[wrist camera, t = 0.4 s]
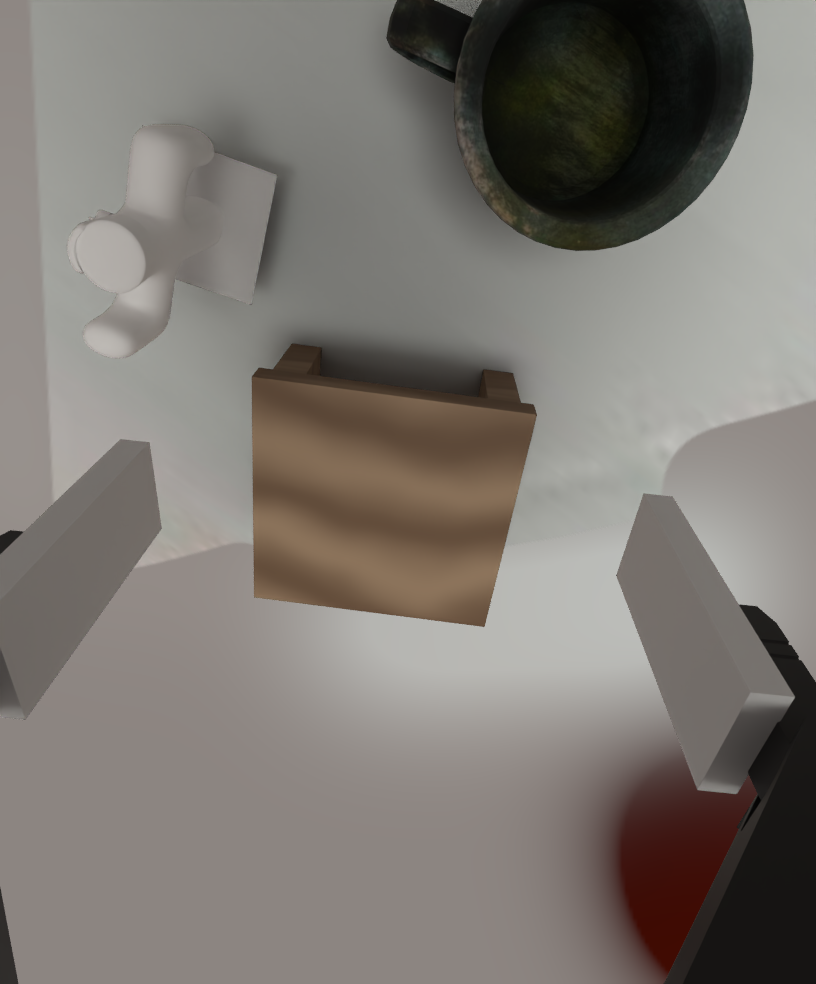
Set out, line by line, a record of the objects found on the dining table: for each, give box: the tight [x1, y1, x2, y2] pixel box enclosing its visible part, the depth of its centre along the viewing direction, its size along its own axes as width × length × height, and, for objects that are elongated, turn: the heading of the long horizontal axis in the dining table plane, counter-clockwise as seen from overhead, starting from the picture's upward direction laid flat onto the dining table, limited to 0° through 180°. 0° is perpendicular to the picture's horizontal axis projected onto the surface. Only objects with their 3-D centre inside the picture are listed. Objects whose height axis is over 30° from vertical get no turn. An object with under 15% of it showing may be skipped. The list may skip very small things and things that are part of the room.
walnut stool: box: [252, 344, 537, 627], centre depth 42 cm, size 16×16×8 cm
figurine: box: [67, 124, 277, 358], centre depth 31 cm, size 7×9×15 cm
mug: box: [386, 0, 753, 251], centre depth 28 cm, size 11×15×12 cm
